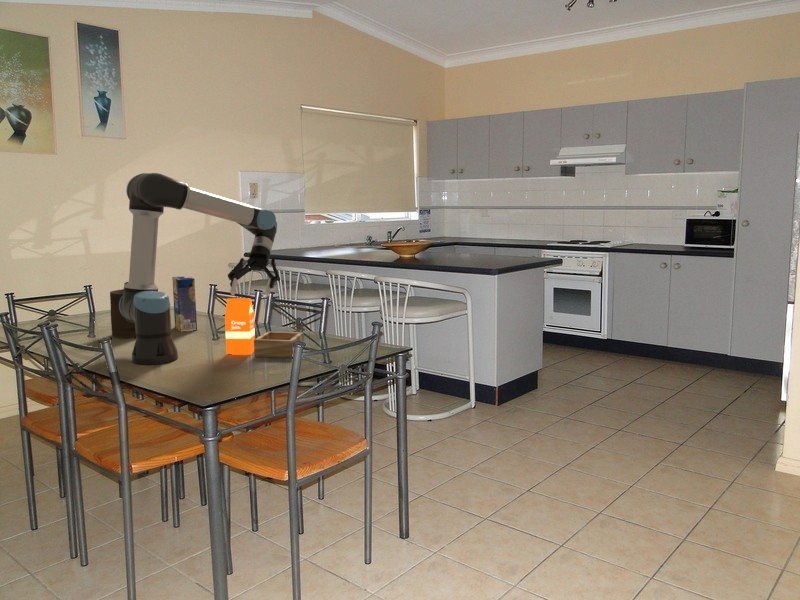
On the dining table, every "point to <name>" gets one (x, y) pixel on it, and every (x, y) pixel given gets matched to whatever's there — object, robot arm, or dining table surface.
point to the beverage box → (184, 303)
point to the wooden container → (120, 318)
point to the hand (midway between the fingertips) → (249, 294)
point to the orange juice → (239, 326)
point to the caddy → (276, 344)
